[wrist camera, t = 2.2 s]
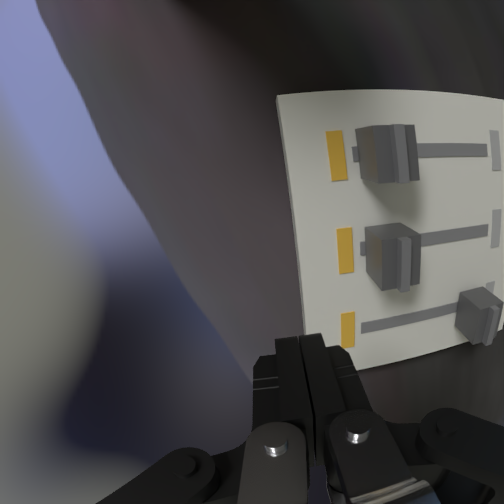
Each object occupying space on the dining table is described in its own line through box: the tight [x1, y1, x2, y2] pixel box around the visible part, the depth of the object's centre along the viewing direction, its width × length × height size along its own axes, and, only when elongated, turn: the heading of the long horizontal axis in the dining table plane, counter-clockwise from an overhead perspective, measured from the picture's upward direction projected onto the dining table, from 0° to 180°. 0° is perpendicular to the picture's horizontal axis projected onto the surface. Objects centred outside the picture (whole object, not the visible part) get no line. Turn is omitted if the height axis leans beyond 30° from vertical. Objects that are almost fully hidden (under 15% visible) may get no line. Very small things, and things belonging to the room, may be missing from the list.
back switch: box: [455, 286, 504, 346], centre depth 18 cm, size 2×3×4 cm
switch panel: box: [276, 90, 504, 370], centre depth 20 cm, size 19×20×2 cm
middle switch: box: [364, 222, 421, 293], centre depth 17 cm, size 2×3×4 cm
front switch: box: [355, 124, 420, 184], centre depth 15 cm, size 2×3×4 cm
